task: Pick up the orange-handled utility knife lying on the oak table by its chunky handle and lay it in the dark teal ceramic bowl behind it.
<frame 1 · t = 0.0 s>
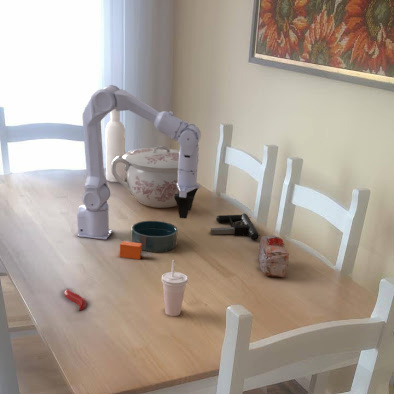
hand: (185, 214, 176), 10 cm above the table, tool pointing down, fingers open, 7 cm apart
bottle: (115, 180, 237), on the table
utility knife: (135, 257, 170), on the table
cayenne pepper: (75, 300, 145), on the table
bowl: (154, 243, 180), on the table
chamber pot: (158, 203, 215), on the table
smoothie: (172, 313, 143), on the table
food item: (270, 270, 169), on the table
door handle: (232, 231, 195), on the table
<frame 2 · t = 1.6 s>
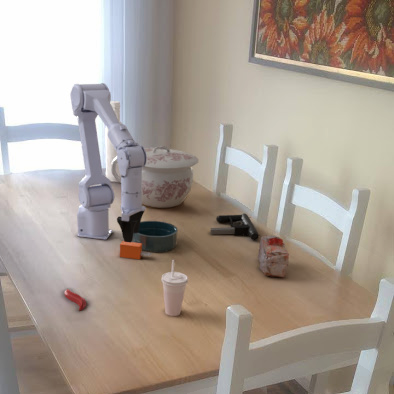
hand: (131, 237, 167), 6 cm above the table, tool pointing down, fingers open, 7 cm apart
nothing on the table moved.
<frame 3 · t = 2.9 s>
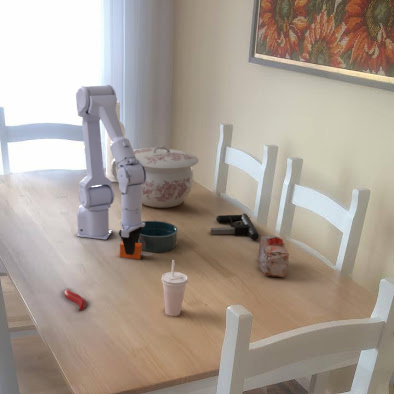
hand: (130, 252, 170), 1 cm above the table, tool pointing down, fingers closed on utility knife, 3 cm apart
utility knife: (135, 257, 170), on the table, touching gripper
everything else where it was.
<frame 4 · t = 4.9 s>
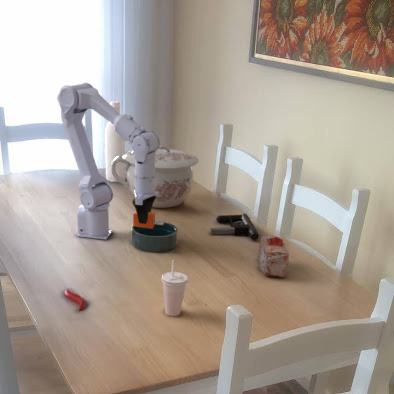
hand: (143, 221, 172), 8 cm above the table, tool pointing down, fingers closed on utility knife, 3 cm apart
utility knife: (148, 226, 173), point 7 cm above the table, touching gripper
everything else where it was.
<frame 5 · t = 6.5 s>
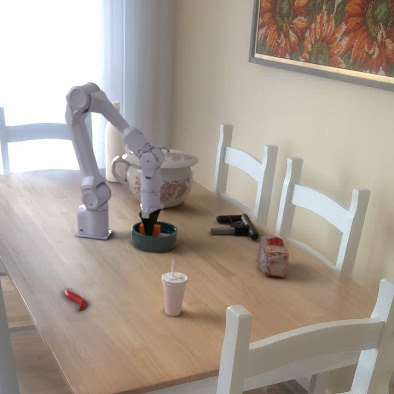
hand: (149, 233, 178), 3 cm above the table, tool pointing down, fingers closed on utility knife, 3 cm apart
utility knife: (154, 238, 179), point 2 cm above the table, touching gripper
everything else where it was.
when the fingers open (2 cm above the table, at t = 7.2 s): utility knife stays where it is, resting on bowl.
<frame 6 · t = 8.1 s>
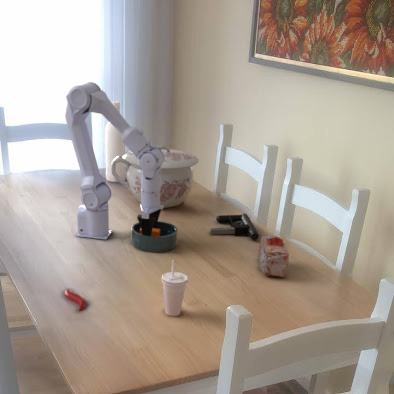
hand: (149, 233, 179), 3 cm above the table, tool pointing down, fingers open, 7 cm apart
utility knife: (154, 242, 180), point 1 cm above the table, touching bowl
everything else where it was.
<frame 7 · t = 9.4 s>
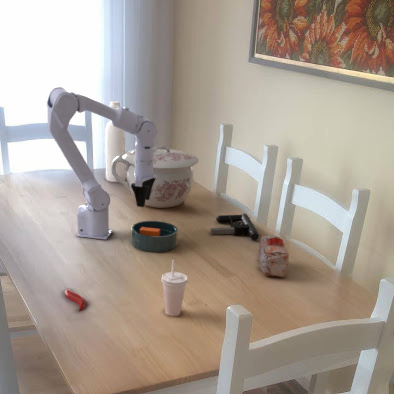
hand: (143, 202, 184), 9 cm above the table, tool pointing down, fingers open, 7 cm apart
nothing on the table moved.
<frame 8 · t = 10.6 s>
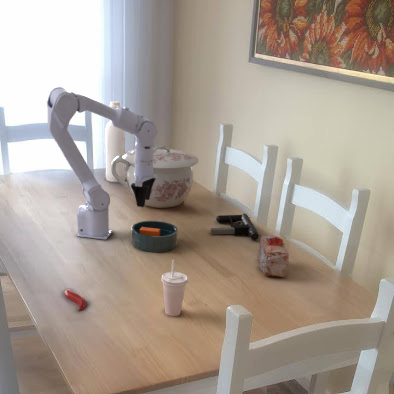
hand: (143, 202, 184), 9 cm above the table, tool pointing down, fingers open, 7 cm apart
nothing on the table moved.
at the end: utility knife inside the target area in the bowl (0.1 cm from its centre), point 0.6 cm above the bowl's base; the gripper is holding nothing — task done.
